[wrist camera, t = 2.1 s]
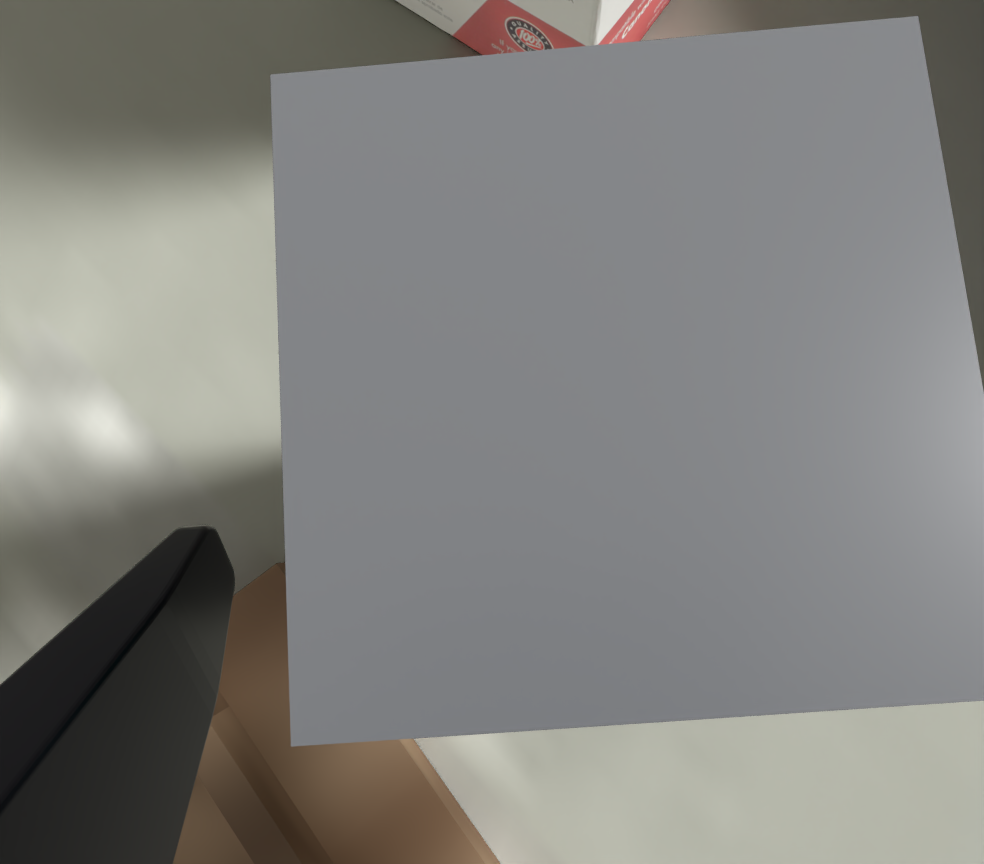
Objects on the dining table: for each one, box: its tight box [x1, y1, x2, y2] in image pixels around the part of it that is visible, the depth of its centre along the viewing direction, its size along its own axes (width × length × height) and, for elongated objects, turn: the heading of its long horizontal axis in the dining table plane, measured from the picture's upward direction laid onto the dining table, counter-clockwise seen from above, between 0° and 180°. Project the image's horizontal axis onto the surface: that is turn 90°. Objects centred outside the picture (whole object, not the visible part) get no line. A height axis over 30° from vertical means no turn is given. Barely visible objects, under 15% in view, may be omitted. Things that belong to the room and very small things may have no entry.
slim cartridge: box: [270, 16, 984, 747], centre depth 11 cm, size 4×4×14 cm
